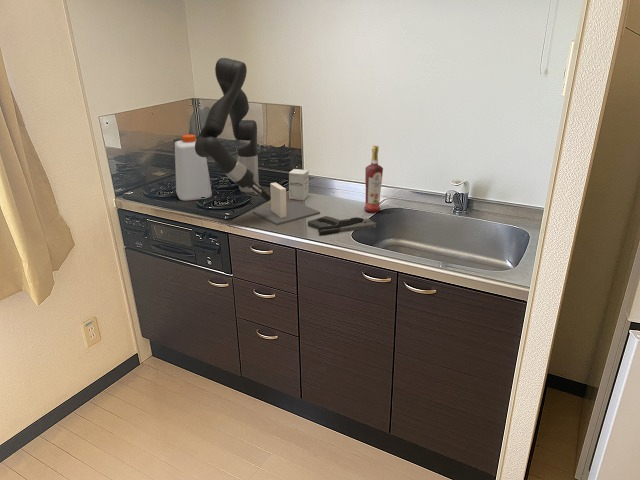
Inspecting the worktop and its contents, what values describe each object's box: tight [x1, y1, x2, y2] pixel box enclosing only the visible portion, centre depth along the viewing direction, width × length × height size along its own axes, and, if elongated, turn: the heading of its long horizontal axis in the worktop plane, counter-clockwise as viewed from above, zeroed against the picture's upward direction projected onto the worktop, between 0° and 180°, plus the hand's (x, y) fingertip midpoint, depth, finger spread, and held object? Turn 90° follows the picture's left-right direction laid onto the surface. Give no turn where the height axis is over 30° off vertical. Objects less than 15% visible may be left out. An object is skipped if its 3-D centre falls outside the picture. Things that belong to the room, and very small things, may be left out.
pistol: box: [307, 215, 378, 237], centre depth 201 cm, size 2×26×15 cm
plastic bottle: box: [174, 134, 213, 202], centre depth 230 cm, size 15×15×28 cm
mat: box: [252, 200, 321, 226], centre depth 214 cm, size 18×22×1 cm
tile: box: [269, 182, 287, 218], centre depth 209 cm, size 10×3×12 cm, turn 29°
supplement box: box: [288, 168, 310, 201], centre depth 231 cm, size 7×7×13 cm
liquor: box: [363, 145, 384, 214], centre depth 212 cm, size 7×7×28 cm
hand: (269, 198), depth 207 cm, fingers closed
